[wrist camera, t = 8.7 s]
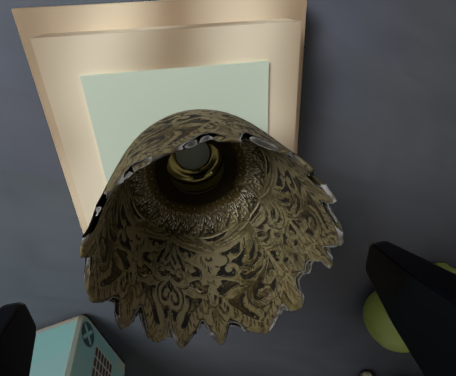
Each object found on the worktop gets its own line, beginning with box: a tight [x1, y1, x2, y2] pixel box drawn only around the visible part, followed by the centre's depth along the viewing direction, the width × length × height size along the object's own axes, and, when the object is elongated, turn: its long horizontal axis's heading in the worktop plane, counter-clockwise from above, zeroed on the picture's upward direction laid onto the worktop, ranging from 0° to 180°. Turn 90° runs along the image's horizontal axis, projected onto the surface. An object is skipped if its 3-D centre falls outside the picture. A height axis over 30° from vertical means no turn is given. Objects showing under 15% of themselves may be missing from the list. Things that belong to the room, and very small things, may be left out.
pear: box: [363, 262, 456, 353], centre depth 30 cm, size 6×5×10 cm
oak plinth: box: [11, 0, 307, 234], centre depth 18 cm, size 13×13×4 cm
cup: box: [80, 109, 344, 348], centre depth 13 cm, size 8×7×8 cm
